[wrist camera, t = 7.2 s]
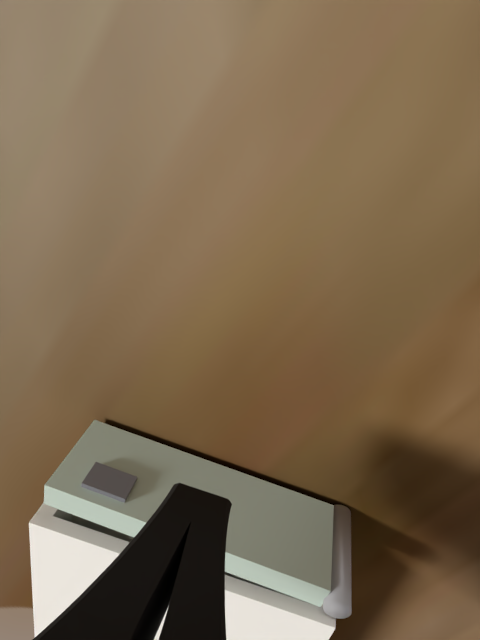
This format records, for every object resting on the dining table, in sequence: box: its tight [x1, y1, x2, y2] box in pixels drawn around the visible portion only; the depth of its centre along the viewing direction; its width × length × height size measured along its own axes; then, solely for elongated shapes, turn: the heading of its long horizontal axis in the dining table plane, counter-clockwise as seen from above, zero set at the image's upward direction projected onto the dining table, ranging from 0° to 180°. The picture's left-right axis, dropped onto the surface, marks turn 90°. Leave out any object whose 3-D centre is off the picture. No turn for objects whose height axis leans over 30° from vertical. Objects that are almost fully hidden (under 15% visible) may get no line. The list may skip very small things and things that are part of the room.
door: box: [44, 420, 352, 619], centre depth 16 cm, size 1×11×4 cm, turn 75°
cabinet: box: [29, 503, 336, 640], centre depth 19 cm, size 8×11×4 cm
